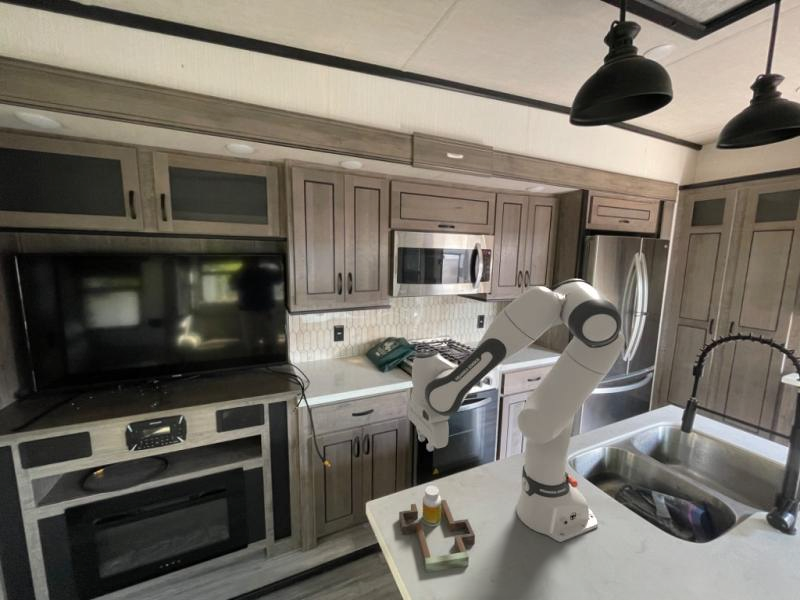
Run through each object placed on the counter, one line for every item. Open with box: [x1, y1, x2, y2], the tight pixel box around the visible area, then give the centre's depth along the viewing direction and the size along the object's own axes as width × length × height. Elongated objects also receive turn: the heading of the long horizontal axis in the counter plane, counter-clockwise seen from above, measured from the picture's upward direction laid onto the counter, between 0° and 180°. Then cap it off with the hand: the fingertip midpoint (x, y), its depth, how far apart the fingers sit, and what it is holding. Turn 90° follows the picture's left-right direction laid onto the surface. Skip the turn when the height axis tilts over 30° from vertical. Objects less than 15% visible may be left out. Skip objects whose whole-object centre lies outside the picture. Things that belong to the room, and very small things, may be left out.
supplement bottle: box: [422, 485, 442, 527], centre depth 97 cm, size 5×5×10 cm
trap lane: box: [398, 499, 476, 573], centre depth 92 cm, size 19×20×2 cm
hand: (425, 444), depth 103 cm, fingers open, 4 cm apart
